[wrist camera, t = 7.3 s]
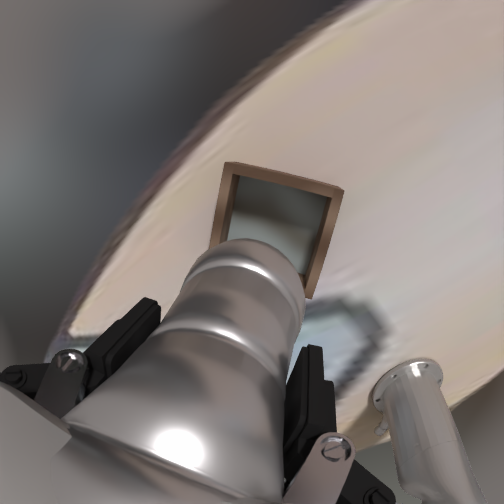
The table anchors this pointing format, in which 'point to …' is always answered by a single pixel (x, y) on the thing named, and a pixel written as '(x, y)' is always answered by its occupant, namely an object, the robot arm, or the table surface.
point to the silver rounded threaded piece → (195, 393)
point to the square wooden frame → (278, 215)
